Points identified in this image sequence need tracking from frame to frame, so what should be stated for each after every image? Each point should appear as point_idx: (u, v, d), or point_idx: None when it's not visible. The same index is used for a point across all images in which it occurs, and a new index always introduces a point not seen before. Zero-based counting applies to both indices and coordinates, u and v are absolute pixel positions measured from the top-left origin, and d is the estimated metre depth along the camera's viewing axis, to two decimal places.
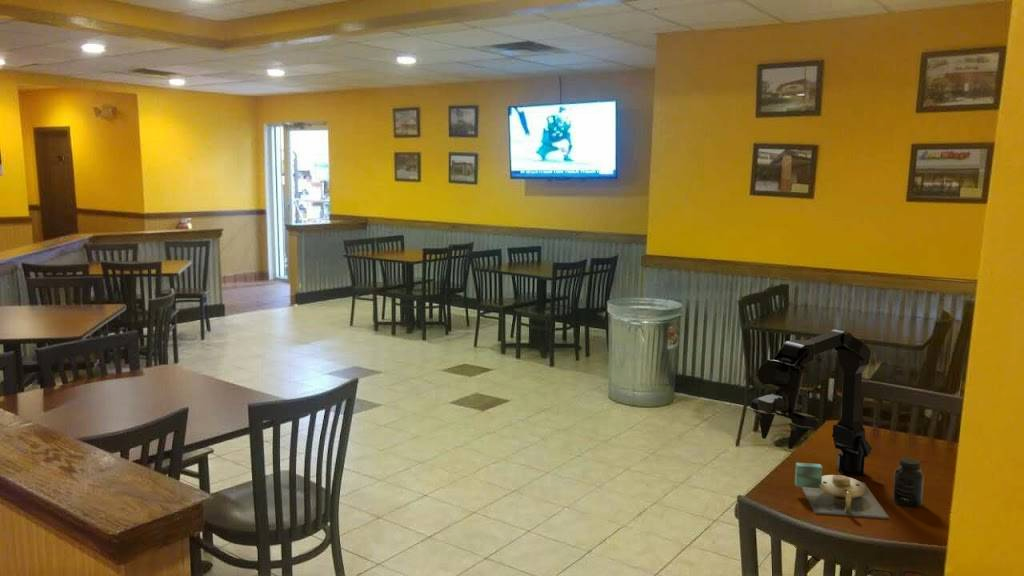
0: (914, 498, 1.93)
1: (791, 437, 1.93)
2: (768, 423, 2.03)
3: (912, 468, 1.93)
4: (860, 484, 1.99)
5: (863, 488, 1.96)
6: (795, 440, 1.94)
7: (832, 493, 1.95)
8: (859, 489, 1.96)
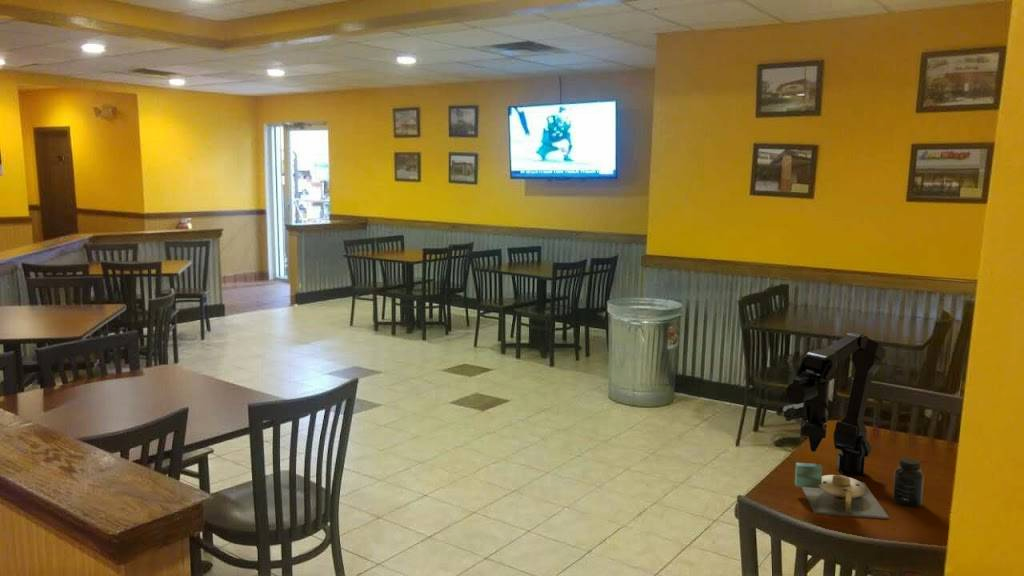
0: (914, 498, 1.93)
1: (809, 440, 2.04)
2: None
3: (912, 468, 1.93)
4: (860, 484, 1.99)
5: (863, 488, 1.96)
6: (814, 443, 2.03)
7: (832, 493, 1.95)
8: (859, 489, 1.96)
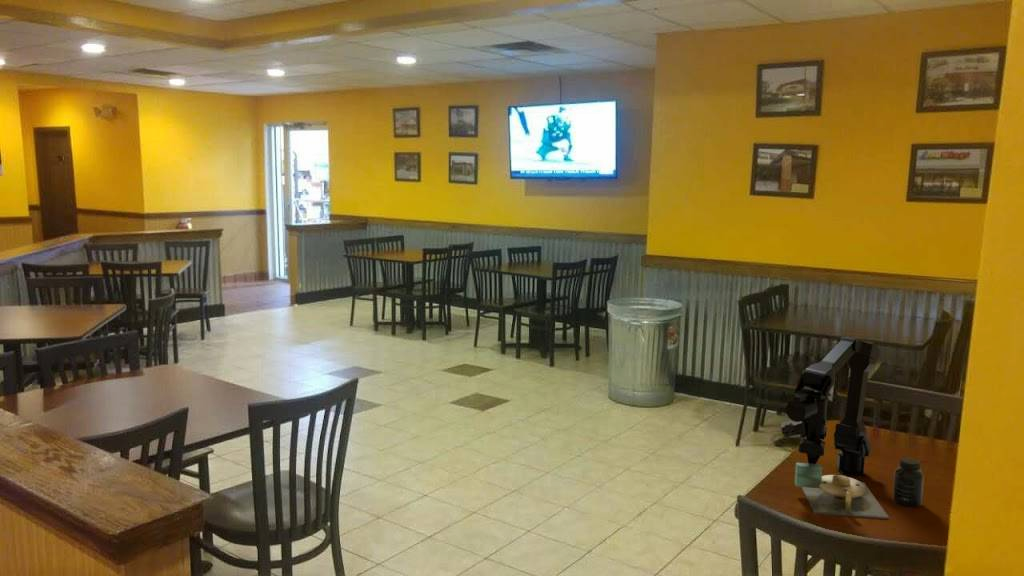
0: (914, 498, 1.93)
1: (807, 457, 2.02)
2: None
3: (912, 468, 1.93)
4: (860, 484, 1.99)
5: (863, 488, 1.96)
6: (812, 460, 2.01)
7: (832, 493, 1.95)
8: (859, 489, 1.96)
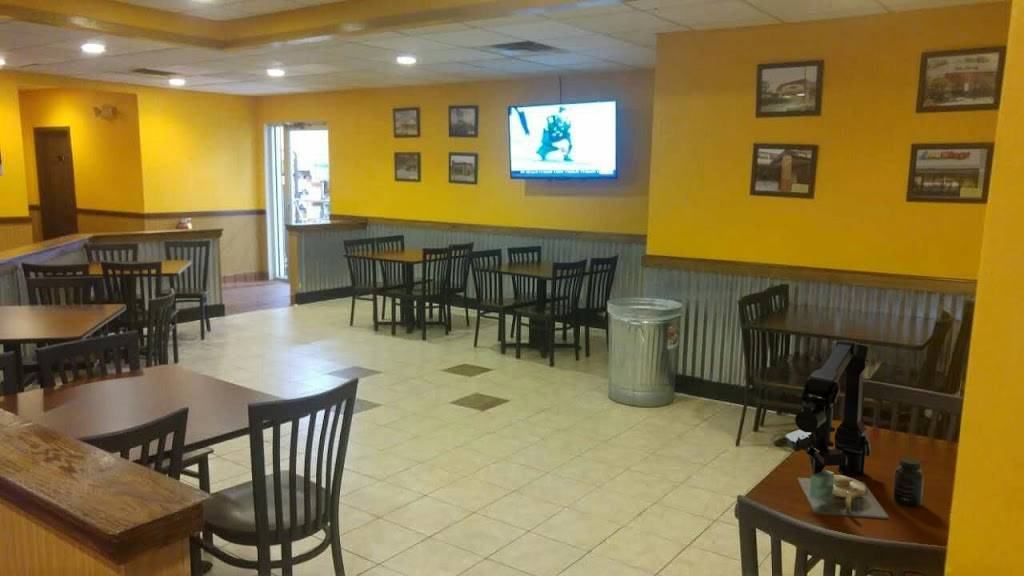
0: (914, 498, 1.93)
1: (814, 466, 1.95)
2: None
3: (912, 468, 1.93)
4: (850, 479, 2.02)
5: (859, 482, 2.00)
6: (819, 468, 1.95)
7: None
8: (859, 484, 1.99)
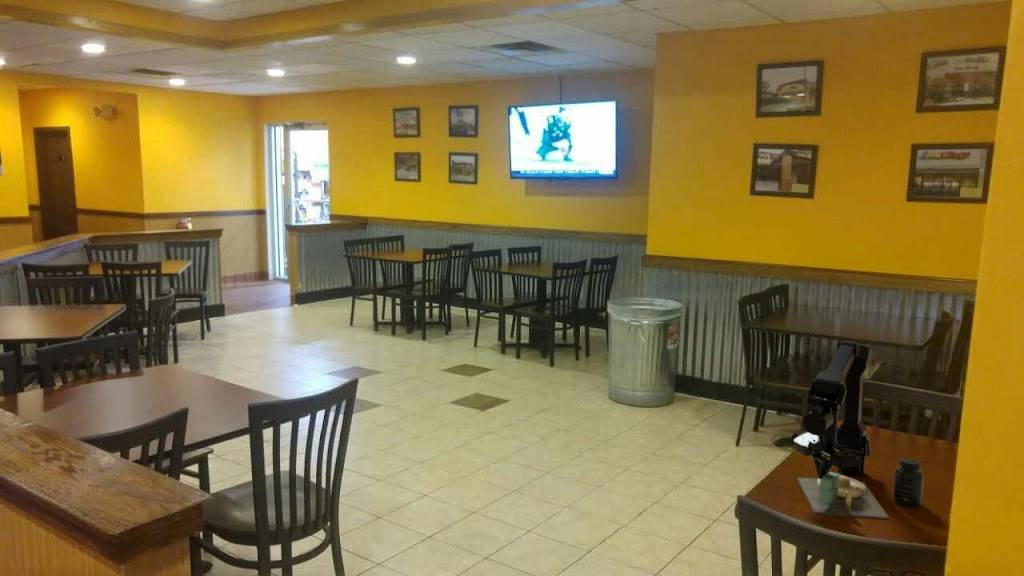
0: (914, 498, 1.93)
1: (820, 469, 1.93)
2: None
3: (912, 468, 1.93)
4: None
5: (856, 480, 2.01)
6: (825, 471, 1.94)
7: (855, 495, 1.94)
8: (857, 482, 2.00)
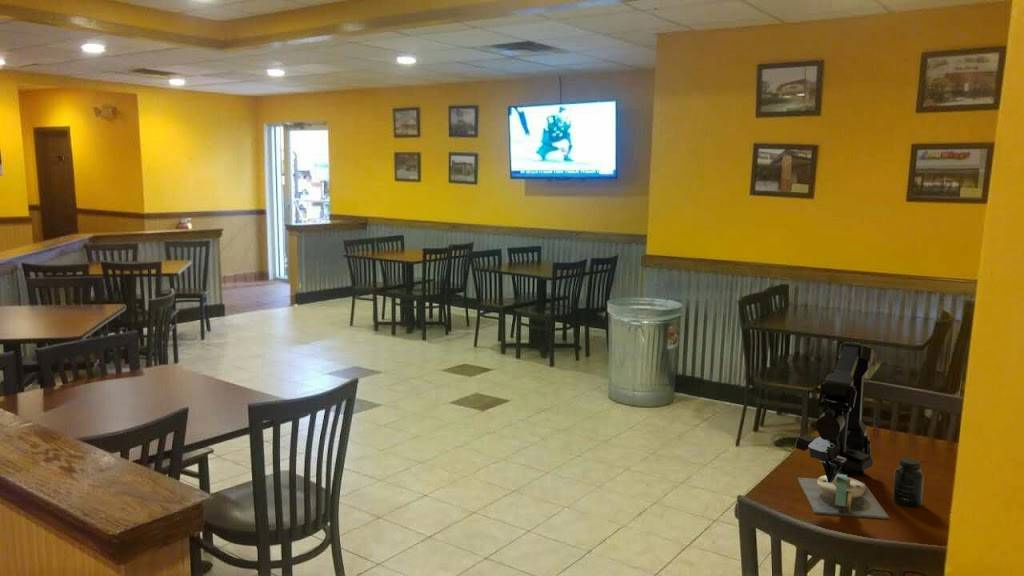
0: (914, 498, 1.93)
1: (831, 472, 1.91)
2: None
3: (912, 468, 1.93)
4: None
5: (849, 478, 2.03)
6: (835, 474, 1.92)
7: (861, 494, 1.94)
8: (853, 480, 2.01)
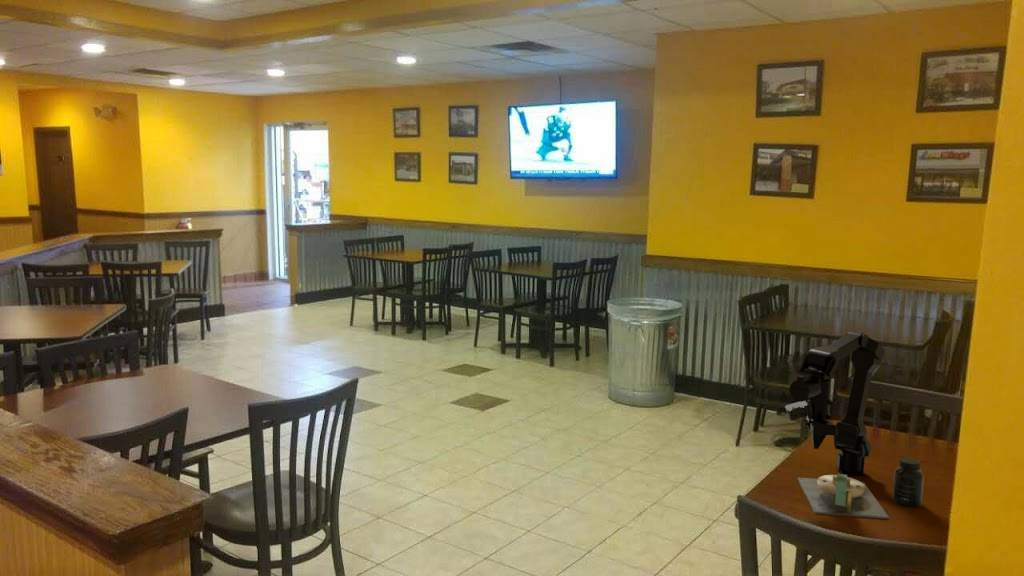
0: (914, 498, 1.93)
1: (812, 438, 2.03)
2: None
3: (912, 468, 1.93)
4: None
5: (849, 478, 2.03)
6: (818, 440, 2.02)
7: (861, 494, 1.94)
8: (853, 480, 2.01)
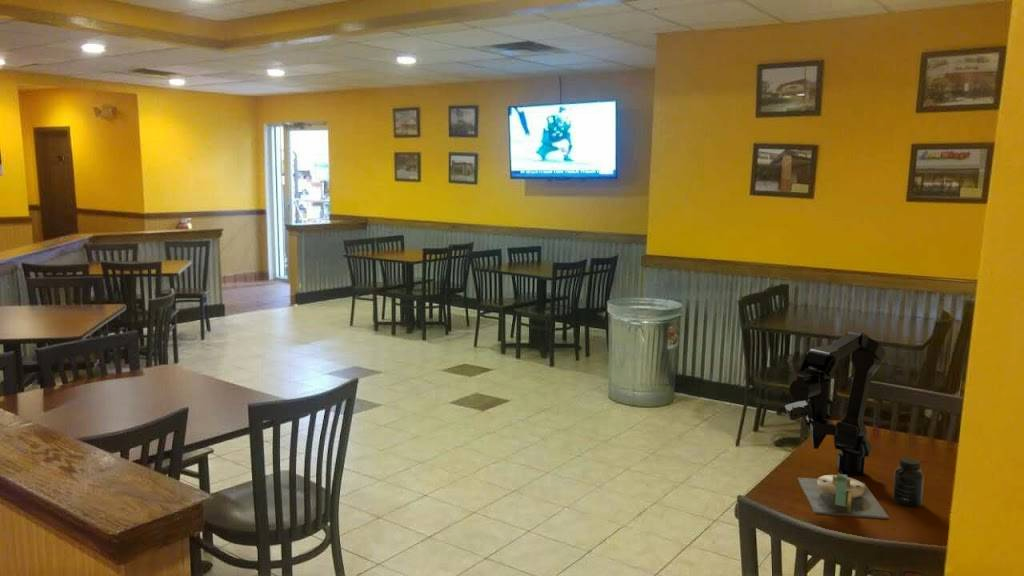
0: (914, 498, 1.93)
1: (812, 437, 2.03)
2: None
3: (912, 468, 1.93)
4: None
5: (849, 478, 2.03)
6: (818, 440, 2.02)
7: (861, 494, 1.94)
8: (853, 480, 2.01)
